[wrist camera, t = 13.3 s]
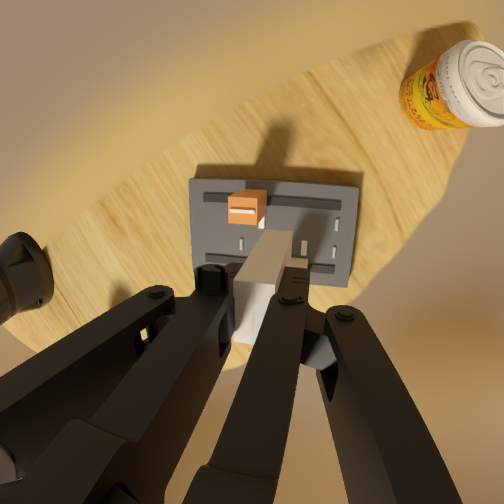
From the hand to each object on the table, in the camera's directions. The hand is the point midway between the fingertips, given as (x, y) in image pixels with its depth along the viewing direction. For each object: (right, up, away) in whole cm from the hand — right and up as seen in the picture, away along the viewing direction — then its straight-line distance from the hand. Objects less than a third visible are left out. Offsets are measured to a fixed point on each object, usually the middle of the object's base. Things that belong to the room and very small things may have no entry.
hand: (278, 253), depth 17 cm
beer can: (+16, +16, +8) cm, 24 cm away
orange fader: (-1, +5, +14) cm, 15 cm away
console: (+1, +3, +17) cm, 17 cm away
